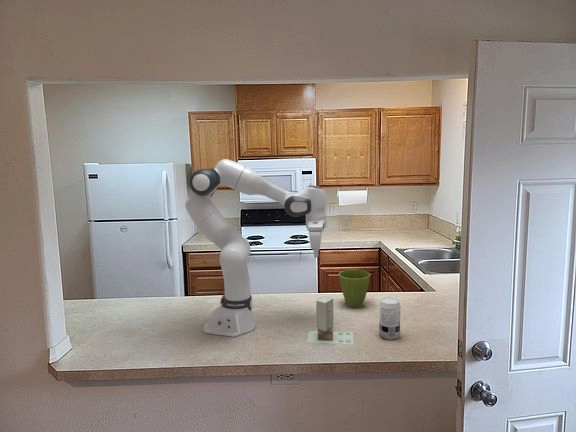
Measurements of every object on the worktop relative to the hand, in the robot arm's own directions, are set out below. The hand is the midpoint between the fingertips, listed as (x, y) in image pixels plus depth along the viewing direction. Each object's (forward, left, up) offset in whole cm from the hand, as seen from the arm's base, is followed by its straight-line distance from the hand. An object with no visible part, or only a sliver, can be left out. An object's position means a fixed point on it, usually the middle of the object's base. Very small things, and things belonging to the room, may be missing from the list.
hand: (316, 254), depth 176 cm
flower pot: (+17, +20, -31) cm, 41 cm away
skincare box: (+4, -18, -26) cm, 32 cm away
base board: (+6, -18, -31) cm, 36 cm away
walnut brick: (+4, -18, -30) cm, 35 cm away
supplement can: (+30, -12, -31) cm, 45 cm away
